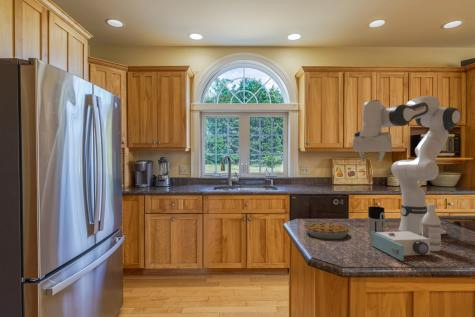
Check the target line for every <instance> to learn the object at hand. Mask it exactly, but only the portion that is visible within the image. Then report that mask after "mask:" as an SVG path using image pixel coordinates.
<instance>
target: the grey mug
mask: <svg viewBox="0 0 475 317" xmlns="http://www.w3.org/2000/svg"><path fill="white" fill-rule="evenodd" d="M367 208H368V210H367V212H368V213H367V236H366V237H367V238H369V239H372V231H374V232H375V233H376V232H386V215H385V207H383V206H376V205H375V206H368V207H367Z"/></svg>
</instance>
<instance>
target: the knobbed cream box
mask: <svg viewBox="0 0 475 317" xmlns="http://www.w3.org/2000/svg"><path fill="white" fill-rule="evenodd" d="M376 233H377V234H379V235H381V236H383V237H386V238H388V239H390V240H392V241H395V242H397V243H399V244H401V245H404V256H425V255H430V254H431V253H430V252H431V251H430V239H428V238H426V237H423V236H422V235H418V234H415V233H412V232H409V231H385V232H376Z"/></svg>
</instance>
